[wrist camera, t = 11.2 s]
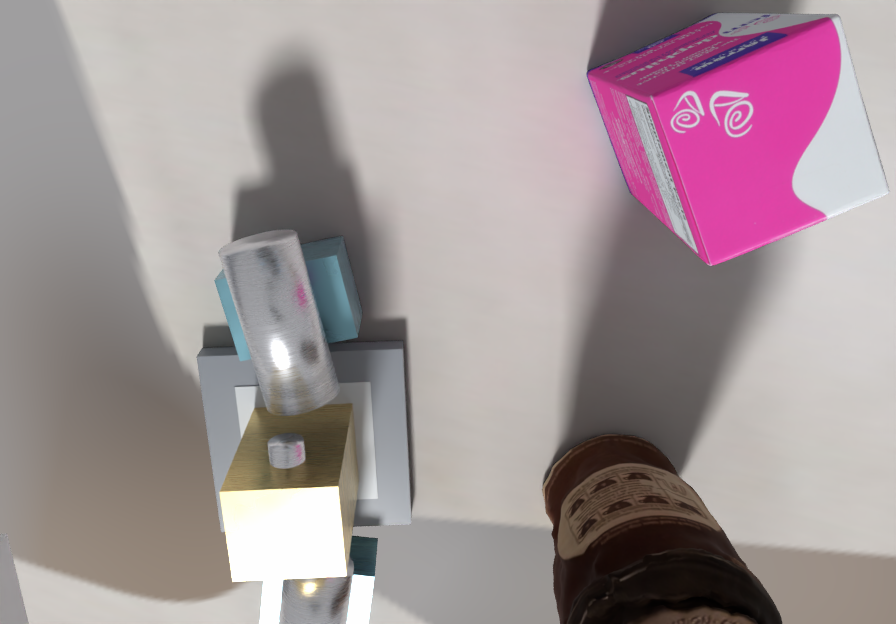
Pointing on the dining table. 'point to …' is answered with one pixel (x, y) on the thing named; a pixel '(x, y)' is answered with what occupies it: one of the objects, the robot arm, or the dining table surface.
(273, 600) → the shaft
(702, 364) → the dining table surface
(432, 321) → the dining table surface
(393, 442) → the cradle
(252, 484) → the block
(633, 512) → the coffee cup
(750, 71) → the supplement box
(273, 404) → the shaft
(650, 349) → the dining table surface
